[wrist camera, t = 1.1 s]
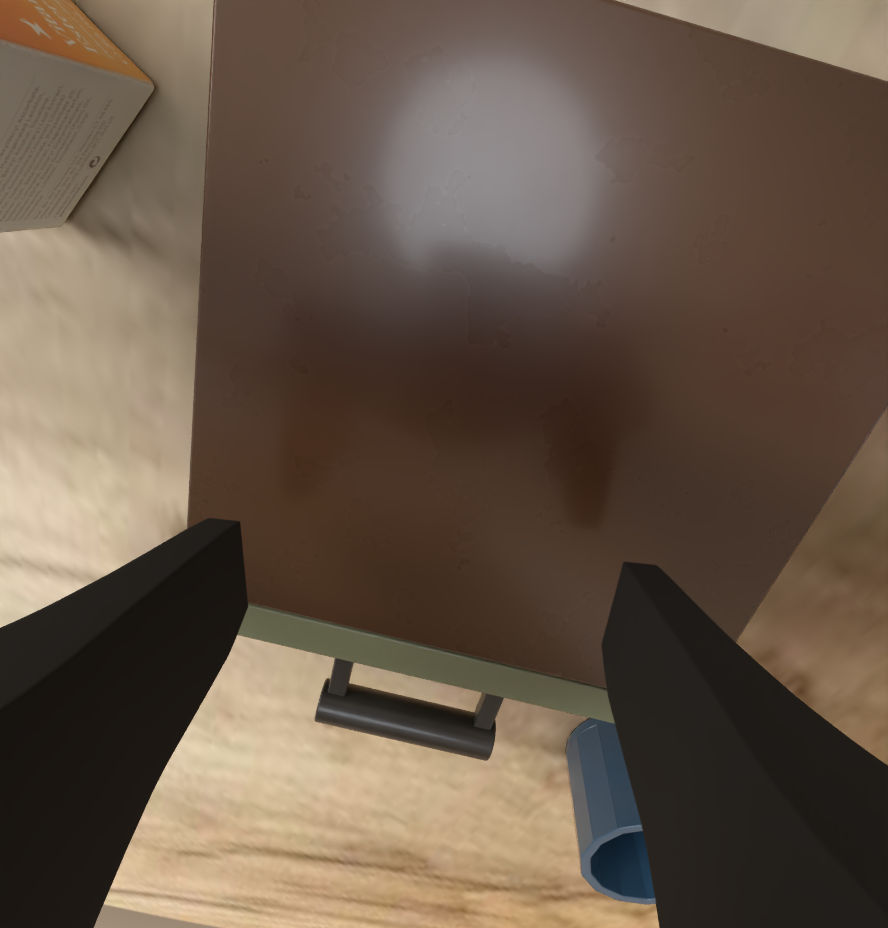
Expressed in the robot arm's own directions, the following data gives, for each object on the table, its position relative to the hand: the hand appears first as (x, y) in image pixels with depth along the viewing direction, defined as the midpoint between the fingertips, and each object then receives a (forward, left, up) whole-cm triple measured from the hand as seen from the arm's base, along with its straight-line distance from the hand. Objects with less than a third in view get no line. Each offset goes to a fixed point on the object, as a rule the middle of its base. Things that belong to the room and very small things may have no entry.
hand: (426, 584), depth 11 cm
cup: (-18, +7, -10) cm, 22 cm away
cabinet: (+1, -3, -10) cm, 11 cm away
